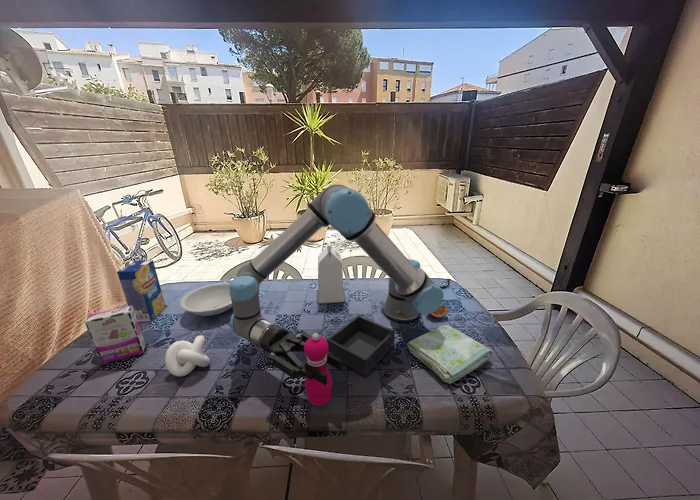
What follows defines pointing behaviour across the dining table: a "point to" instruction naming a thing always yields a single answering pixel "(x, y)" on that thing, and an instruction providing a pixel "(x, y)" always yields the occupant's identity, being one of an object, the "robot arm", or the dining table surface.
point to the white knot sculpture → (186, 356)
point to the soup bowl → (208, 300)
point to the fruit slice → (439, 312)
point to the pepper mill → (317, 357)
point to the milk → (330, 276)
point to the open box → (361, 344)
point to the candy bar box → (115, 334)
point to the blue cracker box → (142, 289)
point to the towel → (449, 353)
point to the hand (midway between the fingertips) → (333, 372)
